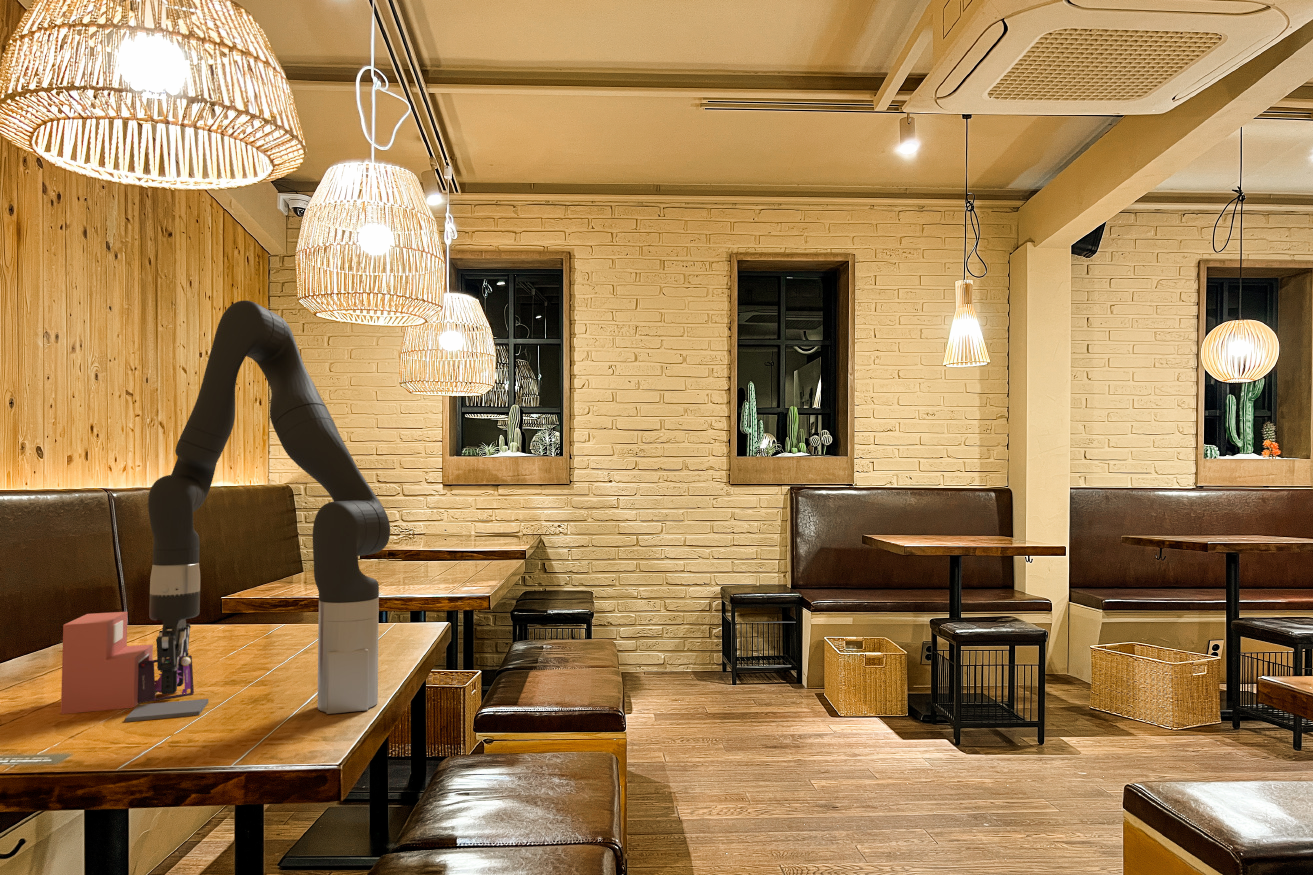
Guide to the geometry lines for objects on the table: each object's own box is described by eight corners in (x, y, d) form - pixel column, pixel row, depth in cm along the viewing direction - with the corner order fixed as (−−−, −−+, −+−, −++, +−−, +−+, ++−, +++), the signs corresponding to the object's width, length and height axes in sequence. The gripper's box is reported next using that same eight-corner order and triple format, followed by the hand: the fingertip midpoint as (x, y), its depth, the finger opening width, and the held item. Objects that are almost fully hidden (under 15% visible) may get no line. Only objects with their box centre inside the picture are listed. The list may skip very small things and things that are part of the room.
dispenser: (133, 707, 133) (135, 620, 134) (60, 713, 130) (63, 624, 131) (151, 690, 145) (153, 610, 145) (85, 695, 141) (87, 613, 142)
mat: (198, 714, 129) (199, 711, 129) (125, 721, 125) (125, 717, 125) (208, 702, 136) (208, 698, 136) (138, 708, 133) (139, 704, 133)
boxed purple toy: (132, 661, 137) (192, 654, 143) (126, 667, 141) (186, 659, 147) (133, 702, 135) (194, 693, 141) (128, 707, 139) (188, 698, 145)
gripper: (191, 594, 136) (188, 698, 135) (207, 584, 150) (205, 678, 149) (139, 596, 134) (136, 702, 133) (160, 585, 147) (157, 681, 146)
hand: (172, 689), depth 141 cm, fingers open, 4 cm apart
